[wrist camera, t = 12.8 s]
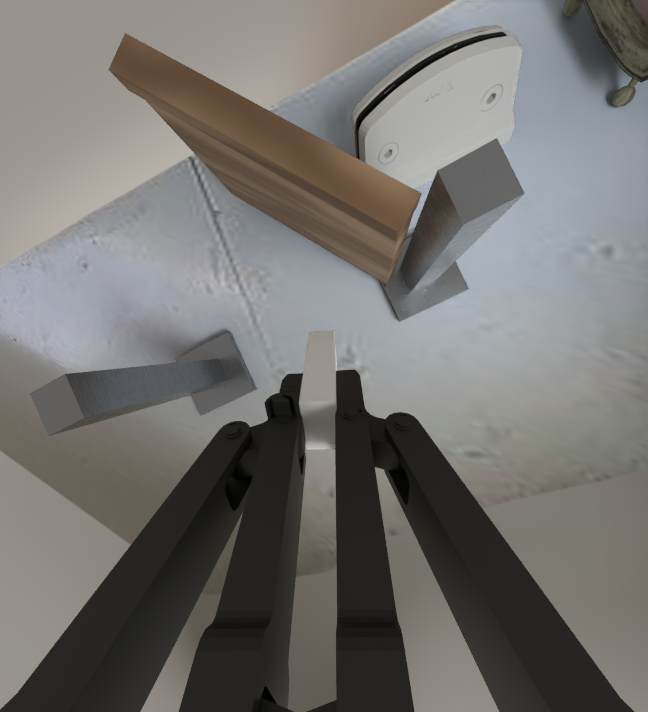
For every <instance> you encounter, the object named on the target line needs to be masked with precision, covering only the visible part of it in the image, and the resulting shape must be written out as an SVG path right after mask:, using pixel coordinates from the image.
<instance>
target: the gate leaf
mask: <svg viewBox="0 0 648 712" xmlns="http://www.w3.org/2000/svg"><path fill="white" fill-rule="evenodd" d="M109 70H110V71H111V72H112V73H113V74H114V76H115V77H116V78H117V79H118V80H119V81H120V82H121V83H122V84H123V85H124V86H125V87H126V88H127V89H128V90H129V91H131V92H133V93H134V94H136V95H138V96H140V97H141V98H143V99H145V100H146V101H147V102H148V103H149V105H151V107H152V108H153V109H154V110H155V111H156V112H157V113H158V114H159V115H160V116H161V117H162V118H163V120H164V121H165V122H166V123H167V124H168V125H169V126H170V127H171V128H172V129H173V130H174V132H175V133H177V135H178V136H179V137H180V138H181V139H182V140H183V141H184V142H185V143H186V144H187V146H189V148H190V149H191V150H192V151H193V152H194V153H195V154H196V155H197V156H198V157H199V158H200V160H201V161H202V162H203V163H204V164H205V165H206V166H207V167H208V168H209V169H210V170H211V171H212V172H213V174H214V175H215V176H216V177H217V178H218V179H219V180H220V181H221V182H222V183H223V184H224V185H225V186H226V188H227V189H228V190H229V191H230V192H231V193H232V194H234V195H235V196H237V197H239V198H240V199H242V200H244V201H246V202H247V203H249V204H251V205H252V206H254V207H256V208H257V209H259V210H261V211H263V212H264V213H266V214H268V215H269V216H271V217H273V218H274V219H276V220H278V221H280V222H281V223H283V224H285V225H286V226H288V227H290V228H292V229H293V230H295V231H297V232H298V233H300V234H302V235H303V236H305V237H307V238H309V239H310V240H312V241H314V242H315V243H317V244H319V245H320V246H322V247H324V248H326V249H327V250H329V251H331V252H332V253H334V254H336V255H337V256H339V257H341V258H343V259H344V260H346V261H348V262H349V263H351V264H353V265H355V266H356V267H358V268H360V269H361V270H363V271H365V272H366V273H368V274H370V275H372V276H373V277H375V278H377V279H378V280H380V281H382V282H383V283H385V284H387V282H388V281H389V279H390V277H391V276H392V274H393V273H394V271H395V267H396V264H397V261H398V258H399V255H400V252H401V249H402V246H403V243H404V240H405V237H406V234H407V230H408V227H409V224H410V221H411V218H412V215H413V212H414V211H415V209H416V207H417V205H418V202H419V199H420V196H421V193H420V192H418V191H416V190H414V189H413V188H411V187H409V186H407V185H405V184H403V183H401V182H400V181H398V180H396V179H394V178H392V177H390V176H389V175H387V174H385V173H383V172H381V171H379V170H377V169H376V168H374V167H372V166H370V165H368V164H366V163H364V162H363V161H361V160H359V159H357V158H355V157H353V156H351V155H350V154H348V153H346V152H344V151H342V150H340V149H339V148H337V147H335V146H333V145H331V144H329V143H327V142H326V141H324V140H322V139H320V138H318V137H316V136H314V135H313V134H311V133H309V132H307V131H305V130H303V129H302V128H300V127H298V126H296V125H294V124H292V123H290V122H289V121H287V120H285V119H283V118H281V117H279V116H277V115H276V114H274V113H272V112H270V111H268V110H266V109H264V108H263V107H260V106H259V105H257V104H255V103H253V102H252V101H250V100H248V99H246V98H244V97H242V96H240V95H239V94H237V93H235V92H233V91H231V90H229V89H227V88H225V87H224V86H222V85H220V84H218V83H216V82H214V81H213V80H211V79H209V78H207V77H205V76H203V75H202V74H200V73H198V72H196V71H194V70H192V69H190V68H189V67H187V66H185V65H183V64H181V63H179V62H177V61H176V60H173V59H172V58H170V57H168V56H166V55H164V54H163V53H161V52H159V51H157V50H155V49H153V48H152V47H150V46H148V45H146V44H144V43H142V42H140V41H138V40H137V39H135V38H133V37H131V36H129V35H127V34H125V35H124V37H123V39H122V42H121V44H120V46H119V48H118V50H117V53H116V55H115V57H114V60H113V62H112V64H111V66H110V68H109Z"/></svg>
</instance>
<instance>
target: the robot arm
mask: <svg viewBox="0 0 648 712" xmlns="http://www.w3.org/2000/svg"><path fill="white" fill-rule="evenodd" d="M265 407H266V412H267V416H268V421H266V422H264V423H262V424H259V425H256V426H252V427H249V425H248V424H247V423H245V422H242V421H234V422H231V423H228V424H226V425H225V426H223V427H222V428H221V429H220V430H219V431H218V432H217V434H216V435H215V436H214V438H213V439H212V440H211V442H210V443H209V444H208V445H207V447H206V448H205V449H204V451H203V452H202V453H201V455H200V456H199V457H198V458H197V460H196V461H195V462H194V464H193V465H192V466H191V468H190V469H189V470H188V472H187V473H186V474H185V475H184V477H183V478H182V479H181V481H180V482H179V483H178V485H177V486H176V487H175V488H174V490H173V491H172V492H171V494H170V495H169V496H168V498H167V499H166V500H165V501H164V503H163V504H162V505H161V507H160V508H159V509H158V511H157V512H156V513H155V514H154V516H153V517H152V518H151V520H150V521H149V522H148V524H147V525H146V526H145V528H144V529H143V530H142V531H141V533H140V534H139V535H138V537H137V538H136V539H135V541H134V542H133V543H132V544H131V546H130V547H129V548H128V550H127V551H126V552H125V554H124V555H123V556H122V558H121V559H120V560H119V561H118V563H117V564H116V565H115V567H114V568H113V569H112V570H111V572H110V573H109V575H108V576H107V577H106V578H105V580H104V581H103V582H102V584H101V585H100V586H99V587H98V589H97V590H96V591H95V593H94V594H93V595H92V597H91V598H90V599H89V600H88V602H87V603H86V604H85V606H84V607H83V608H82V610H81V611H80V612H79V614H78V615H77V616H76V618H75V619H74V620H73V621H72V623H71V624H70V625H69V627H68V628H67V629H66V630H65V632H64V633H63V634H62V636H61V637H60V638H59V640H58V641H57V642H56V643H55V645H54V646H53V647H52V649H51V650H50V651H49V653H48V654H47V655H46V657H45V658H44V659H43V660H42V662H41V663H40V664H39V666H38V667H37V668H36V669H35V671H34V672H33V673H32V675H31V676H30V677H29V679H28V680H27V681H26V683H25V684H24V685H23V686H22V688H21V689H20V690H19V692H18V693H17V694H16V695H15V696H14V697H13V698H12V699H11V700H10V701H9V702H8V703H7V704H6V705H5V706H4V707H3V708H1V710H0V712H140V711H141V709H142V707H143V705H144V703H145V701H146V699H147V697H148V696H149V694H150V692H151V690H152V688H153V686H154V684H155V682H156V680H157V678H158V676H159V674H160V672H161V670H162V668H163V666H164V664H165V662H166V660H167V658H168V657H169V655H170V653H171V651H172V648H173V647H174V645H175V643H176V641H177V639H178V637H179V635H180V633H181V631H182V629H183V627H184V625H185V623H186V621H187V619H188V617H189V616H190V613H191V612H192V610H193V608H194V606H195V604H196V602H197V600H198V598H199V596H200V594H201V592H202V590H203V588H204V586H205V584H206V582H207V580H208V579H209V577H210V575H211V573H212V571H213V569H214V567H215V565H216V563H217V561H218V559H219V557H220V555H221V553H222V551H223V549H224V547H225V545H226V543H227V541H228V540H229V538H230V536H231V534H232V532H233V530H234V528H235V526H236V524H237V522H238V520H239V518H240V516H241V514H242V512H243V515H242V519H241V523H240V526H239V530H238V534H237V538H236V542H235V545H234V549H233V553H232V557H231V560H230V564H229V568H228V572H227V576H226V579H225V583H224V587H223V591H222V594H221V599H220V602H219V606H218V610H217V613H216V616H215V619H214V621H213V623H212V624H211V625H210V626H209V627H207V628H206V629H205V631H204V633H203V635H202V637H201V639H200V642H199V644H198V648H197V650H196V653H195V657H194V661H193V664H192V667H191V671H190V674H189V678H188V681H187V685H186V688H185V692H184V695H183V699H182V703H181V706H180V709H179V712H293V711H291V710H288V695H289V669H288V658H289V644H290V634H291V622H292V610H293V600H294V589H295V577H296V566H297V555H298V544H299V532H300V521H301V510H302V498H303V487H304V476H305V465H306V457H305V444H306V450H312V449H335V451H336V538H337V629H336V679H337V680H336V683H337V700H335V701H333V702H330V703H328V704H325V705H323V706H321V707H318V708H315V709H313V710H310V711H308V712H414V707H413V700H412V694H411V687H410V681H409V675H408V668H407V662H406V655H405V649H404V643H403V637H402V633H401V628H400V625H399V623H398V620H397V614H396V608H395V601H394V594H393V588H392V580H391V574H390V567H389V561H388V554H387V547H386V540H385V533H384V526H383V520H382V513H381V506H380V500H379V493H378V486H377V479H376V473H375V467H377V468H381V469H384V471H385V473H386V476H387V478H388V480H389V482H390V484H391V486H392V488H393V490H394V492H395V494H396V496H397V499H398V501H399V503H400V505H401V507H402V509H403V511H404V513H405V515H406V517H407V519H408V522H409V524H410V526H411V528H412V530H413V532H414V534H415V536H416V538H417V540H418V542H419V544H420V546H421V549H422V551H423V553H424V555H425V557H426V559H427V561H428V563H429V565H430V567H431V569H432V571H433V574H434V576H435V578H436V580H437V582H438V584H439V586H440V588H441V591H442V592H443V594H444V597H445V599H446V601H447V603H448V605H449V607H450V609H451V611H452V613H453V615H454V618H455V620H456V622H457V624H458V626H459V628H460V630H461V632H462V634H463V636H464V639H465V641H466V643H467V645H468V647H469V649H470V651H471V653H472V655H473V657H474V659H475V662H476V664H477V666H478V668H479V670H480V672H481V674H482V676H483V678H484V680H485V682H486V685H487V687H488V689H489V691H490V693H491V695H492V697H493V699H494V701H495V703H496V705H497V708H498V710H499V712H634V711H633V710H632V709H631V708H630V707H629V706H628V705H627V704H626V703H625V702H624V701H623V700H622V699H621V698H620V697H619V696H618V694H617V693H616V691H615V690H614V689H613V687H612V686H611V684H610V683H609V682H608V680H607V679H606V678H605V676H604V675H603V674H602V672H601V671H600V670H599V668H598V667H597V665H596V664H595V663H594V661H593V660H592V658H591V657H590V656H589V654H588V653H587V652H586V650H585V649H584V648H583V646H582V645H581V643H580V642H579V641H578V639H577V638H576V637H575V635H574V634H573V632H572V631H571V630H570V628H569V627H568V626H567V624H566V623H565V621H564V620H563V619H562V617H561V616H560V615H559V613H558V612H557V610H556V609H555V608H554V606H553V605H552V604H551V603H550V601H549V600H548V598H547V597H546V595H545V594H544V593H543V591H542V590H541V589H540V587H539V586H538V584H537V583H536V582H535V580H534V579H533V578H532V576H531V575H530V574H529V572H528V571H527V569H526V568H525V567H524V565H523V564H522V562H521V561H520V560H519V558H518V557H517V556H516V554H515V553H514V552H513V550H512V549H511V547H510V546H509V545H508V543H507V542H506V541H505V539H504V538H503V537H502V535H501V534H500V532H499V531H498V530H497V528H496V527H495V525H494V524H493V523H492V521H491V520H490V519H489V517H488V516H487V515H486V513H485V512H484V510H483V509H482V508H481V506H480V505H479V504H478V502H477V501H476V499H475V498H474V497H473V495H472V494H471V493H470V491H469V490H468V488H467V487H466V486H465V484H464V483H463V482H462V480H461V479H460V477H459V476H458V475H457V473H456V472H455V471H454V469H453V468H452V467H451V465H450V464H449V462H448V461H447V460H446V458H445V457H444V456H443V454H442V453H441V451H440V450H439V449H438V447H437V446H436V445H435V443H434V442H433V440H432V439H431V438H430V436H429V435H428V434H427V432H426V431H425V430H424V428H423V427H422V425H421V424H420V423H419V421H418V420H417V419H416V418H415V417H414V416H412V415H410V414H407V413H402V412H400V413H393V414H391V415H389V416H388V417H387V418H386V419H381V418H377V417H374V416H372V415H370V414H369V413H368V412H367V411H366V409H365V407H364V400H363V393H362V387H361V380H360V375H359V374H358V373H357V371H356V370H341V371H337V360H336V346H335V332H334V330H332V331H317V332H309V337H308V344H307V351H306V358H305V365H304V371H303V373H301V374H287V376H286V377H285V378H284V379H283V380H282V383H281V388H280V393H277V394H274V395H272V396H270V397H269V398H268V399H267V400H266V402H265ZM243 510H244V511H243Z"/></svg>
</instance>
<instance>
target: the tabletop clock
mask: <svg viewBox="0 0 648 712" xmlns="http://www.w3.org/2000/svg"><path fill="white" fill-rule="evenodd" d="M583 2H584V4H585V6H586V9H587V11H588V13H589V15H590V17H591V20H592V22H593V24H594V26H595V28H596V31H597V33H598V35H599V37H600V38H601V40H602V41H603V43H604V44H605V46H606V47H607V48H608V50H609V51H610V53H611V54H612V56H613V57H614V59H615V60H616V62H617V63H618V64H619V66H620V67H621V68H622V70H623V71H624V72H625V73H626V74H628V75H629V76H630V77H632V80H631V81H630V83H629V84H628V86H625V87H622V88H621V89H619V90H618V91H617V92H616V93H615V95H614V97H613V101H612V102H613V105H614V106H616V107H621V106H624V105H626V104H628V103H629V102H630V101H631V100H632V99H633V97H634V95H635V92H636V90H635V87H634V86H635V85H636V84H637V82H638V81H639V82H643V81H645V80H647V79H648V0H566V2H565V4H564V6H563V10H562V11H563V15H564V16H566V17H570V16H573V15H574V14H576V13H577V12H578V10H579V9H580V7H581V5H582V3H583Z"/></svg>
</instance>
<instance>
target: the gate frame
mask: <svg viewBox="0 0 648 712" xmlns="http://www.w3.org/2000/svg"><path fill="white" fill-rule="evenodd" d="M523 195H524V192H523V190H522V188H521V186H520V184H519V181H518V179H517V177H516V175H515V173H514V171H513V169H512V167H511V165H510V163H509V161H508V159H507V157H506V155H505V153H504V151H503V149H502V147H501V145H500V143H499V141H498V139H497V138H496V139H494V140H492V141H490V142H489V143H487V144H485V145H483V146H481V147H479V148H478V149H476V150H474V151H472V152H470V153H468V154H467V155H465V156H463V157H461V158H459V159H457V160H456V161H454V162H452V163H450V164H448V165H447V166H445V167H443V168H441V169H439V170H437V173H436V175H435V178H434V180H433V183H432V186H431V188H430V191H429V193H428V196H427V199H426V201H425V204H424V206H423V209H422V212H421V214H420V217H419V219H418V222H417V225H416V227H415V230H414V232H413V235H412V237H410V238H408V239H406V240H404V243H403V246H402V249H401V252H400V255H399V258H398V261H397V264H396V267H395V271H394V273H393V274H392V276H391V277H390V279H389V281H388V282H387V284H385V283H383V282H382V281H380V282H381V284H382V286H383V288H384V290H385V292H386V294H387V296H388V299H389V301H390V303H391V305H392V307H393V309H394V311H395V313H396V315H397V317H398V319H399V322H400V321H402V320H404V319H406V318H408V317H411V316H413V315H415V314H417V313H419V312H421V311H423V310H425V309H427V308H430V307H432V306H434V305H436V304H438V303H440V302H442V301H444V300H447V299H449V298H451V297H453V296H455V295H457V294H459V293H461V292H463V291H466V290H467V289H469V288H468V286H467V284H466V282H465V280H464V278H463V276H462V274H461V272H460V270H459V268H458V266H457V264H456V262H455V261H456V260H457V259H458V258H459V257H460V256H461V255H462V254H463V253H464V252H465V251H466V250H467V249H468V248H469V247H470V246H471V245H472V244H473V243H474V242H475V241H476V240H477V239H478V238H479V237H480V236H481V235H483V234H484V233H485V232H486V231H487V230H488V229H489V228H490V227H491V226H492V225H493V224H494V223H495V222H496V221H497V220H498V219H499V218H500V217H501V216H502V215H503V214H504V213H505V212H506V211H507V210H508V209H509V208H510V207H511V206H512V205H513V204H514V203H515V202H516V201H517V200H518V199H519V198H520V197H522V196H523ZM175 360H176V362H177V363H171V364H161V365H151V366H141V367H131V368H121V369H111V370H101V371H92V372H82V373H72V374H65V375H63V376H61V377H59V378H57V379H55V380H54V381H52V382H50V383H48V384H46V385H45V386H43V387H41V388H39V389H37V390H35V391H34V392H32V393H30V394H31V396H32V399H33V401H34V403H35V406H36V408H37V410H38V413H39V415H40V417H41V419H42V422H43V424H44V426H45V429H46V431H47V433H48V436H50V435H54V434H57V433H61V432H64V431H67V430H71V429H74V428H78V427H81V426H85V425H88V424H92V423H95V422H99V421H102V420H106V419H109V418H113V417H116V416H120V415H123V414H127V413H130V412H134V411H137V410H140V409H144V408H147V407H151V406H154V405H158V404H161V403H165V402H168V401H172V400H175V399H179V398H182V397H186V396H189V395H192V398H193V400H194V402H195V404H196V406H197V409H198V411H199V413H200V415H203V414H205V413H207V412H209V411H211V410H214V409H216V408H218V407H220V406H222V405H224V404H226V403H228V402H230V401H233V400H235V399H237V398H239V397H241V396H243V395H245V394H247V393H250V392H252V391H254V390H256V389H257V388H256V386H255V384H254V382H253V380H252V377H251V375H250V373H249V371H248V369H247V367H246V364H245V362H244V360H243V358H242V356H241V353H240V351H239V349H238V347H237V345H236V343H235V340H234V338H233V336H232V334H231V332H226V333H224V334H222V335H220V336H219V337H217V338H215V339H213V340H211V341H209V342H207V343H205V344H203V345H201V346H199V347H197V348H195V349H193V350H191V351H190V352H188V353H186V354H184V355H182V356H180V357H178V358H176V359H175Z"/></svg>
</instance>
